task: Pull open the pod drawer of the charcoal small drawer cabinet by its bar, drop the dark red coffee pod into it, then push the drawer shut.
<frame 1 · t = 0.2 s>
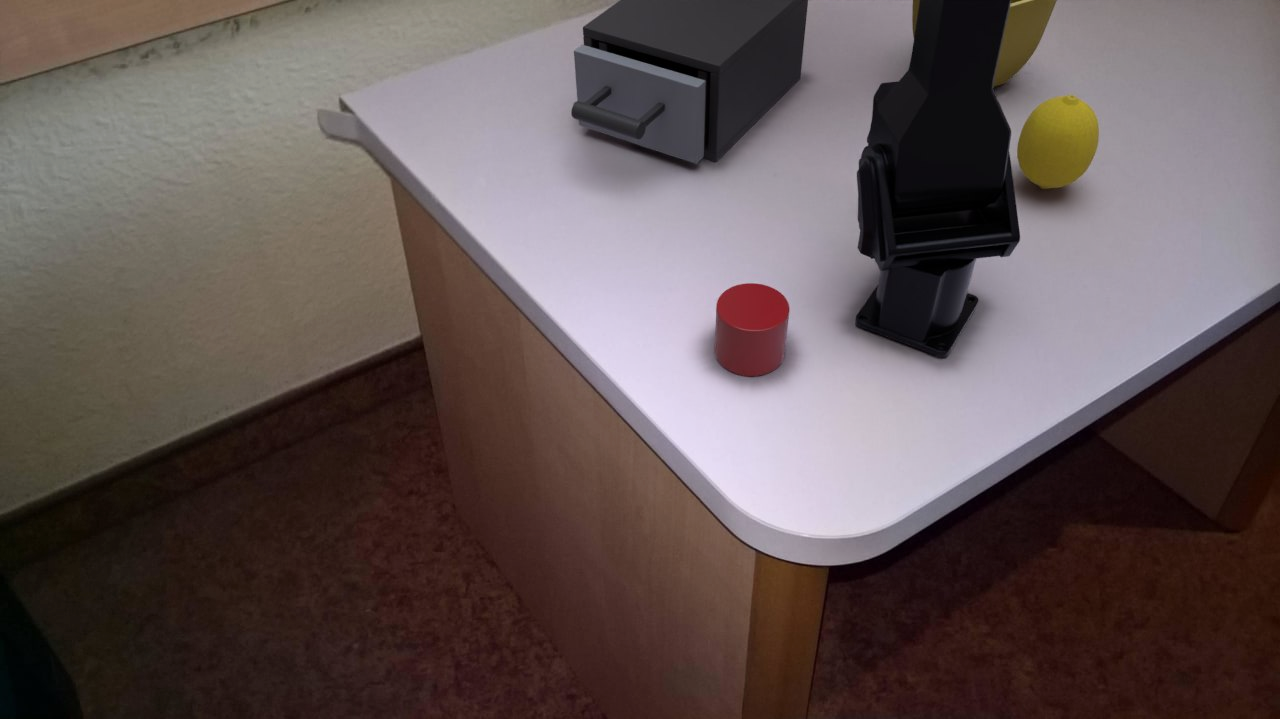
lemon: (1043, 190, 80), on the table
coffee pod: (749, 351, 68), on the table
pod drawer: (667, 79, 85), point 4 cm above the table, slide at 1.0 cm
flower pot: (964, 81, 92), on the table
small drawer cabinet: (697, 99, 91), on the table
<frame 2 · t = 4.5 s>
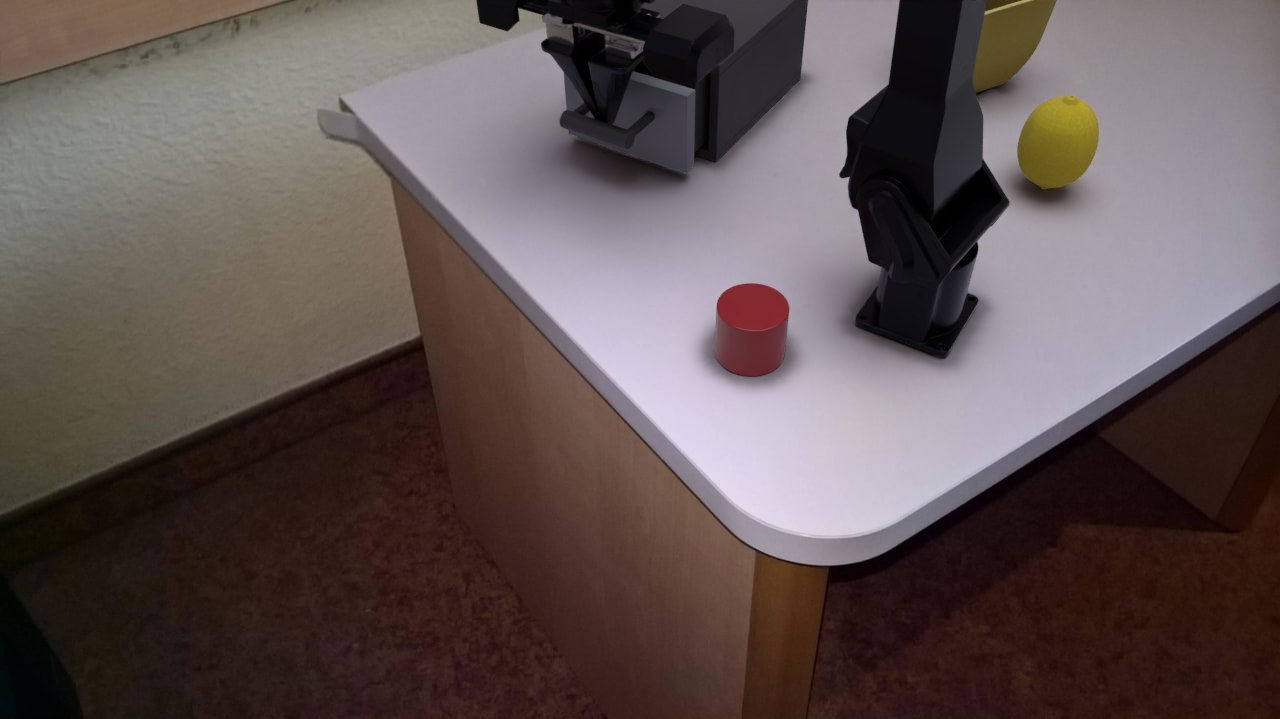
hand: (606, 124, 79), 5 cm above the table, tool pointing down, fingers closed, pressing on pod drawer
pod drawer: (657, 88, 84), point 4 cm above the table, slide at 2.6 cm, touching gripper
everything else where it was.
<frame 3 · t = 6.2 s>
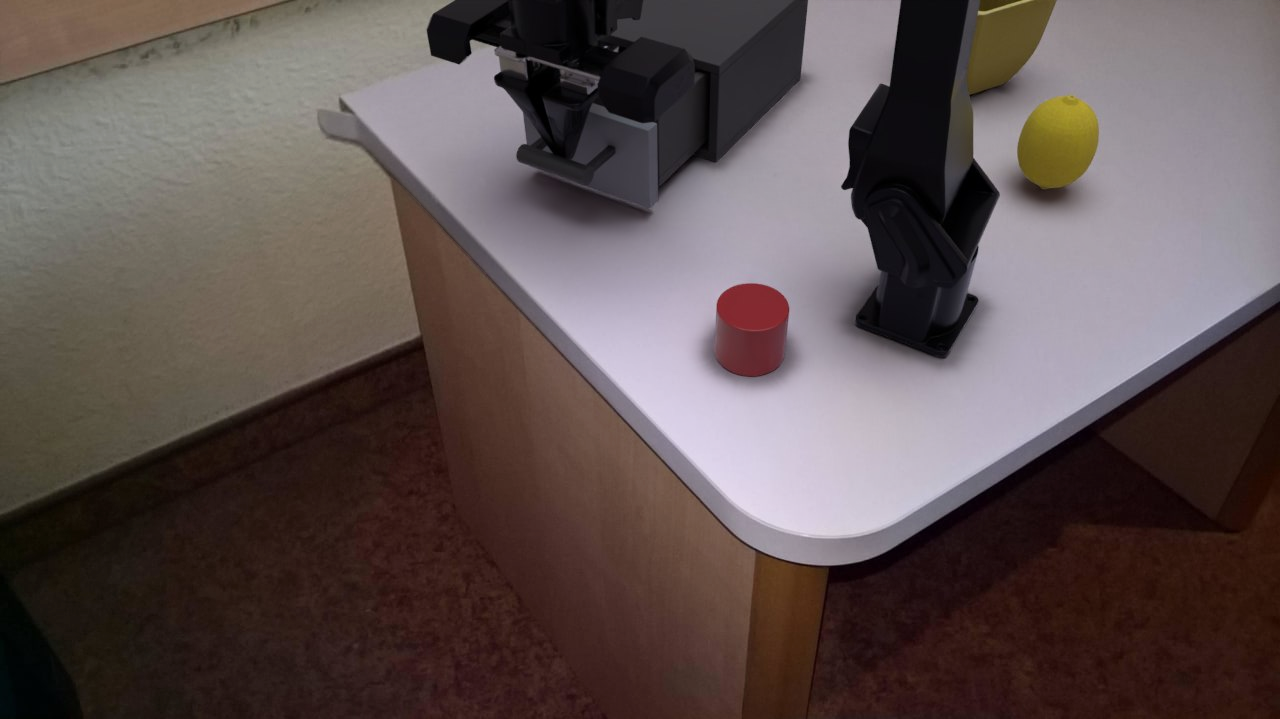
hand: (565, 158, 76), 5 cm above the table, tool pointing down, fingers closed, pressing on pod drawer
pod drawer: (621, 119, 80), point 4 cm above the table, slide at 8.0 cm, touching gripper
everything else where it was.
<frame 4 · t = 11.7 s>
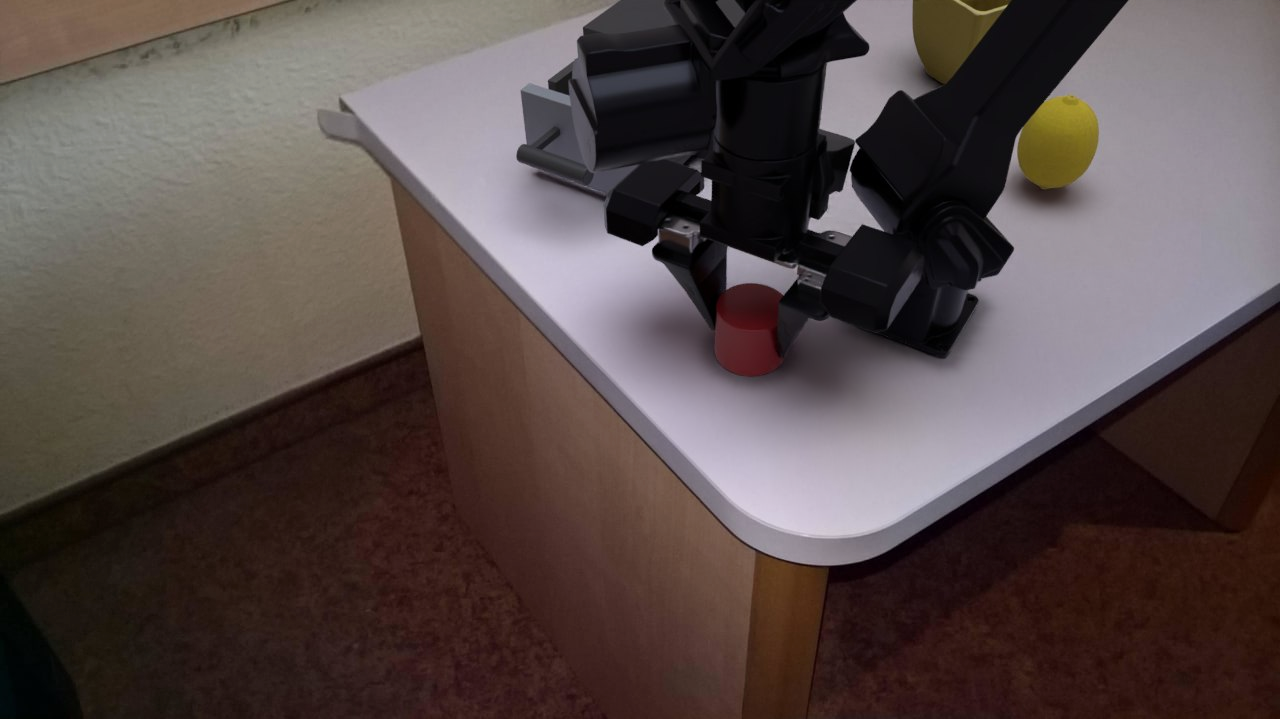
hand: (750, 340, 67), 1 cm above the table, tool pointing down, fingers closed on coffee pod, 4 cm apart
coffee pod: (749, 351, 68), on the table, touching gripper
pod drawer: (621, 119, 80), point 4 cm above the table, slide at 8.0 cm
everything else where it was.
when the fingers open (7 cm above the table, at t = 17.2 s): coffee pod stays where it is, resting on pod drawer.
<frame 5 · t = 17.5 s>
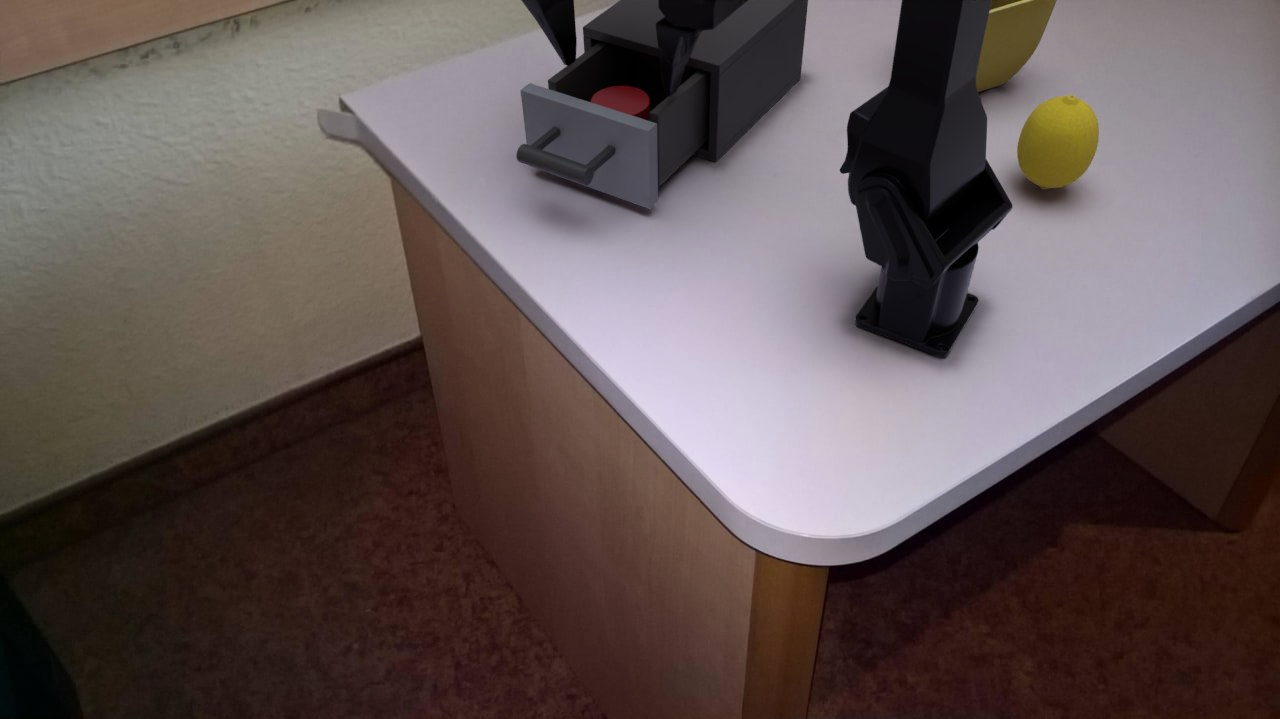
hand: (619, 78, 78), 8 cm above the table, tool pointing down, fingers open, 9 cm apart
coffee pod: (621, 145, 82), point 2 cm above the table, touching pod drawer
pod drawer: (621, 119, 80), point 4 cm above the table, slide at 8.0 cm, touching coffee pod
everything else where it was.
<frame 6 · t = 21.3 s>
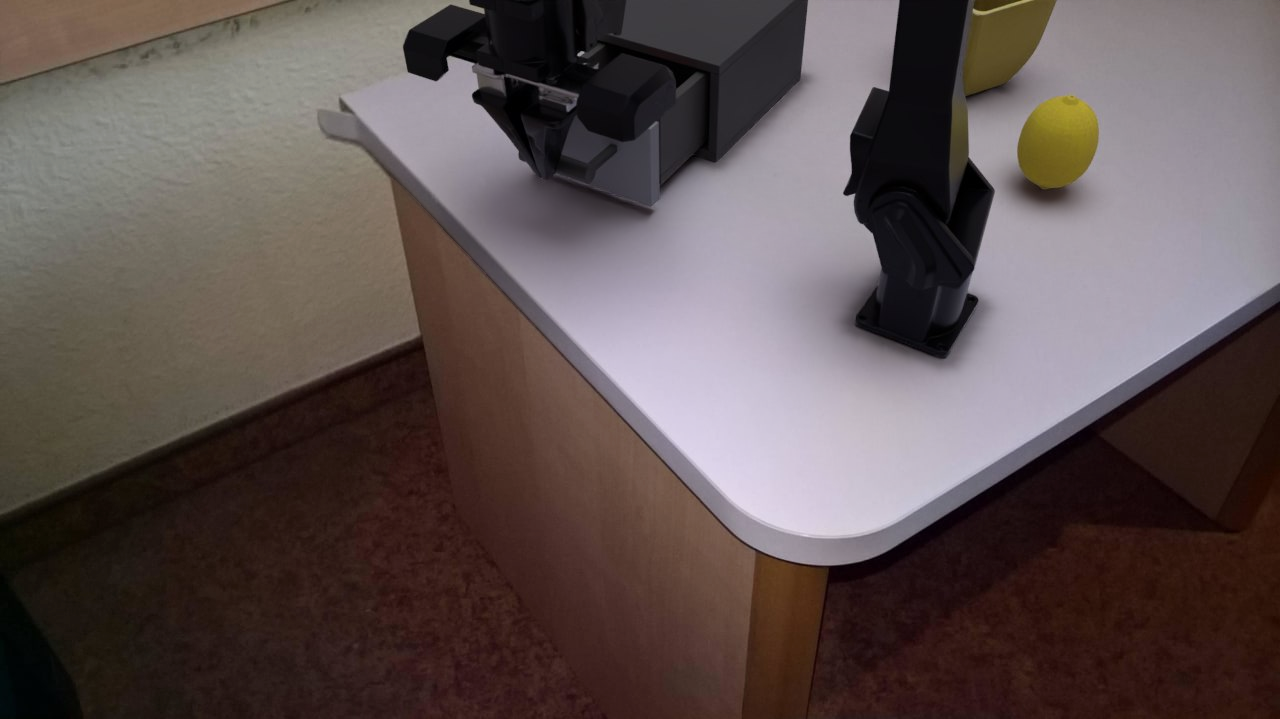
hand: (546, 176, 74), 5 cm above the table, tool pointing down, fingers closed, pressing on pod drawer
pod drawer: (622, 117, 80), point 4 cm above the table, slide at 7.8 cm, touching coffee pod, gripper
everything else where it was.
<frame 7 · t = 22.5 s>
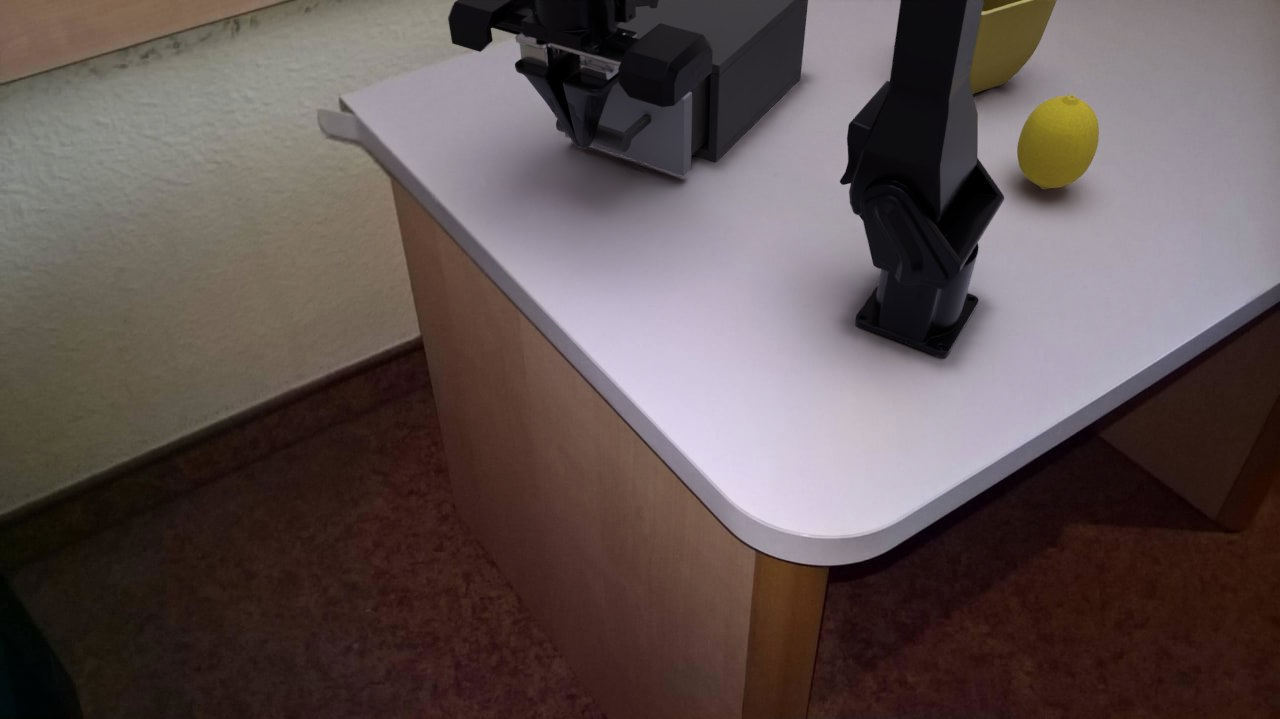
hand: (584, 145, 77), 5 cm above the table, tool pointing down, fingers closed, pressing on pod drawer
coffee pod: (654, 116, 85), point 2 cm above the table, touching pod drawer
pod drawer: (654, 90, 83), point 4 cm above the table, slide at 3.0 cm, touching coffee pod, gripper
everything else where it was.
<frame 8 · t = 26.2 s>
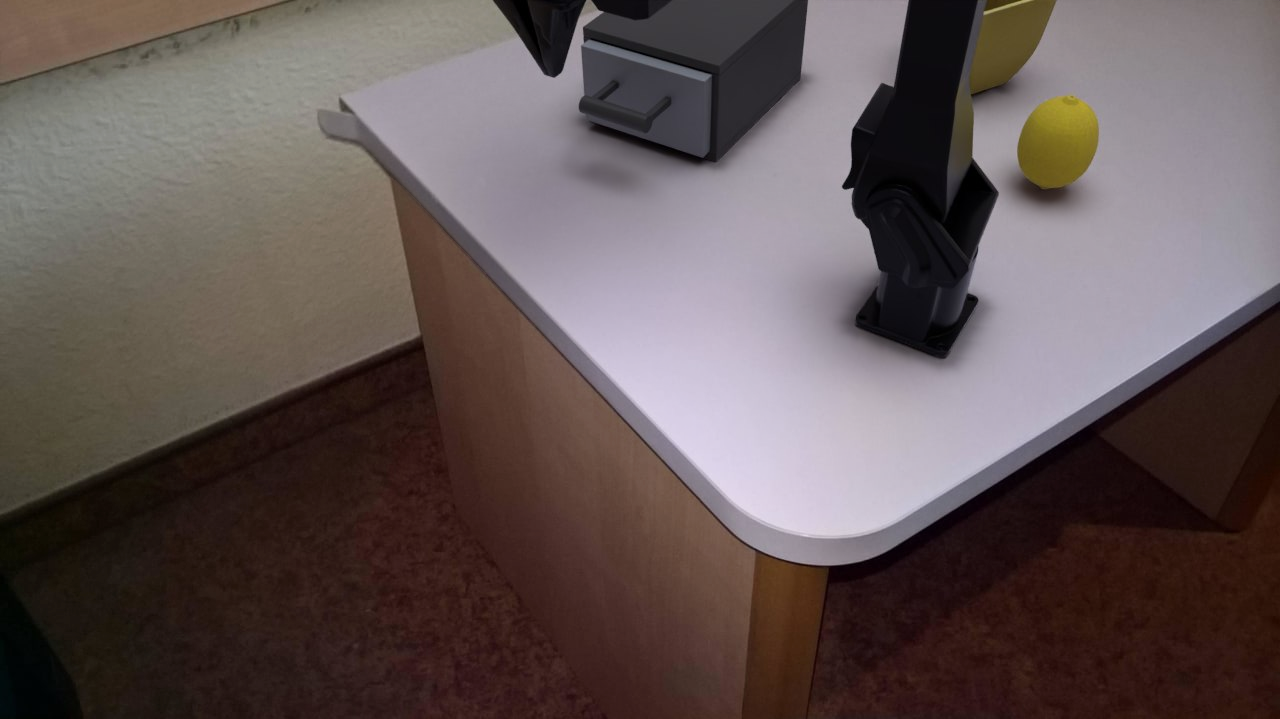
hand: (553, 74, 70), 12 cm above the table, tool pointing down, fingers closed
coffee pod: (673, 99, 87), point 2 cm above the table, touching pod drawer
pod drawer: (673, 74, 85), point 4 cm above the table, slide at 0.0 cm, touching small drawer cabinet, coffee pod
everything else where it was.
at the end: pod drawer pulled out 8.0 cm at the most during the clip, back to where it started at the end; coffee pod inside the target area in the small drawer cabinet (4.1 cm from its centre), point 2.0 cm above the small drawer cabinet's base; pod drawer slide at 0.0 cm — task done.
